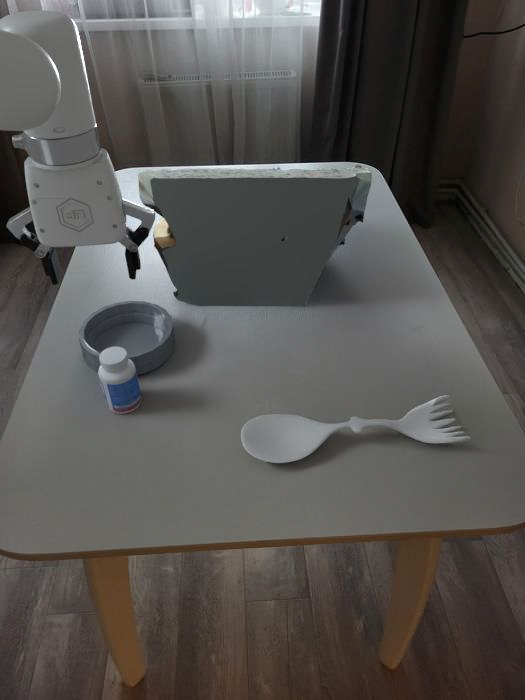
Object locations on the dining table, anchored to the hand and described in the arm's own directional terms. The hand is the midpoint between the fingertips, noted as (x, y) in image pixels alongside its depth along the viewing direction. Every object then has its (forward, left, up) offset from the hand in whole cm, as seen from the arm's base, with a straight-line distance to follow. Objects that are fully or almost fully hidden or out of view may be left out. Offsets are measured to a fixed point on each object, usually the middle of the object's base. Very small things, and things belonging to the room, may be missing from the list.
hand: (95, 276), depth 72 cm
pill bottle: (0, 0, -24) cm, 24 cm away
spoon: (+25, -24, -24) cm, 42 cm away
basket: (+37, +22, -24) cm, 49 cm away
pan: (+5, +12, -23) cm, 27 cm away
